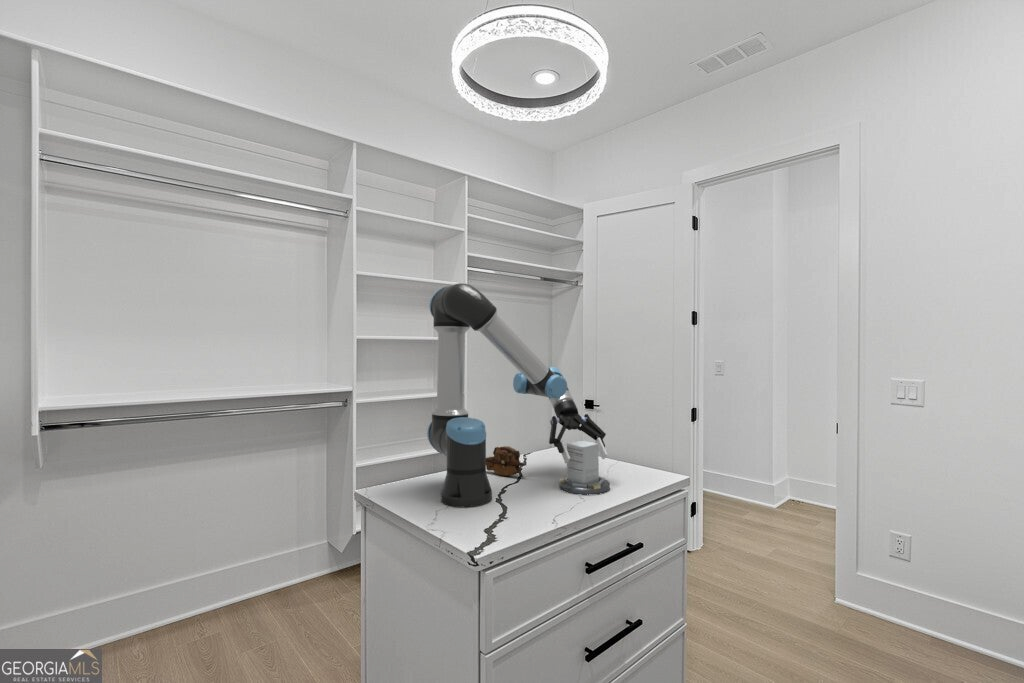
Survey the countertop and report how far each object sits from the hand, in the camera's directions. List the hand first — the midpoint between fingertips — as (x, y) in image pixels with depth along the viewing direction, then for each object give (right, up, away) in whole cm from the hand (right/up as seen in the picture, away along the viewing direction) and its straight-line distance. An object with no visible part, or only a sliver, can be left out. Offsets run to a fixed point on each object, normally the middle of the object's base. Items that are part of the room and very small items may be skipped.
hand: (586, 458), depth 158 cm
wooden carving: (-26, -10, +16) cm, 33 cm away
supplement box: (-1, -8, +1) cm, 8 cm away
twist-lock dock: (-1, -9, +1) cm, 9 cm away
